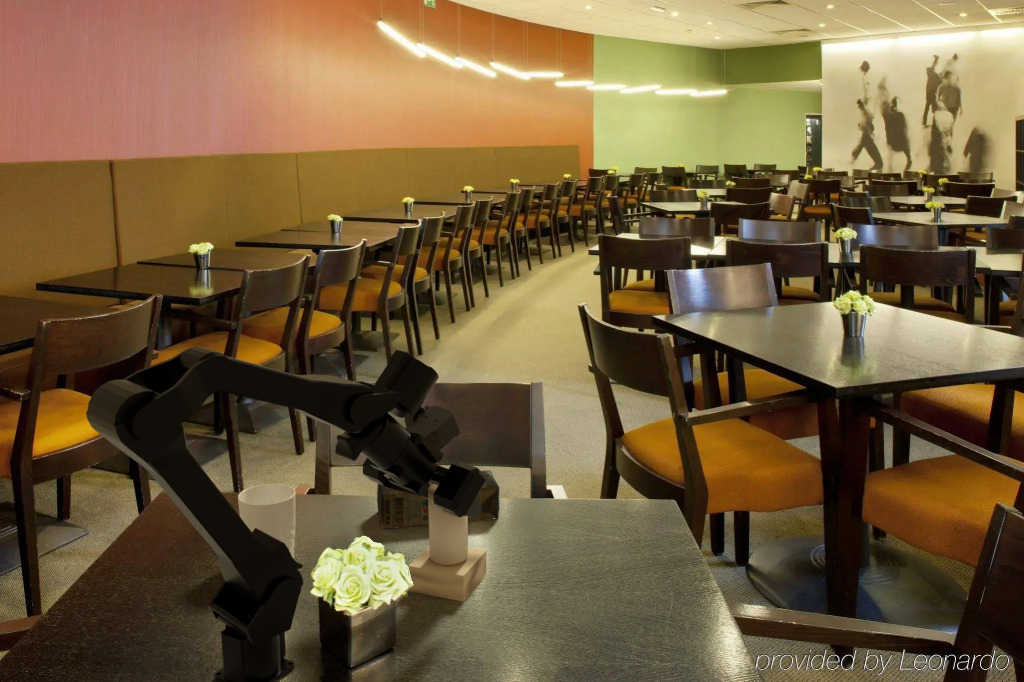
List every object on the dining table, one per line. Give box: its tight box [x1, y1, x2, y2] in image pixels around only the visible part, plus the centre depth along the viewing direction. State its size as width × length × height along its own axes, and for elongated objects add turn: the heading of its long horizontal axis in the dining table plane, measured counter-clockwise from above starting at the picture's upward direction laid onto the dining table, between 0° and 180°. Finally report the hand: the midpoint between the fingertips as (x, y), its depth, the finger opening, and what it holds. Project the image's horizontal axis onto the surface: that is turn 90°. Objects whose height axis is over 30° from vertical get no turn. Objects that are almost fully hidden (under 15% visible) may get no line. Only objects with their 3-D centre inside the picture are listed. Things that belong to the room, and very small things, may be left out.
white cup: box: [237, 483, 296, 560], centre depth 129 cm, size 8×8×10 cm
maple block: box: [407, 546, 487, 602], centre depth 123 cm, size 8×8×4 cm
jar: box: [428, 484, 469, 567], centre depth 121 cm, size 5×5×10 cm
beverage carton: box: [376, 469, 501, 529], centre depth 145 cm, size 8×19×7 cm, turn 103°
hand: (455, 503), depth 122 cm, fingers open, 9 cm apart
